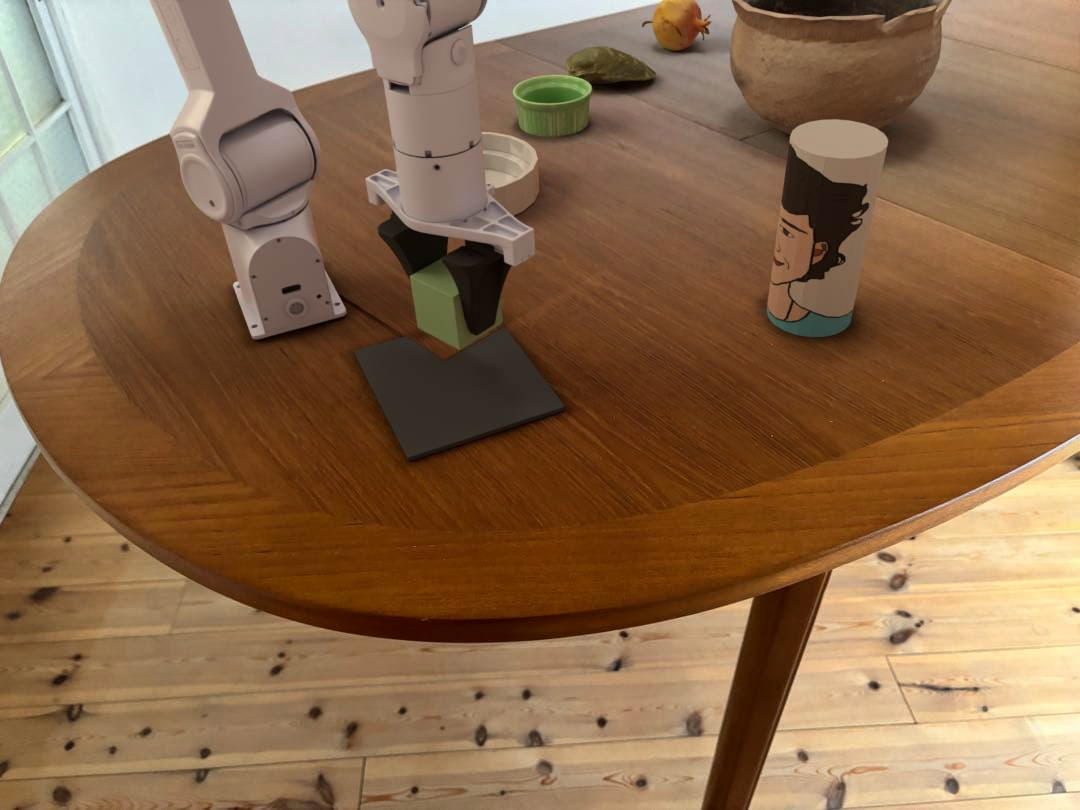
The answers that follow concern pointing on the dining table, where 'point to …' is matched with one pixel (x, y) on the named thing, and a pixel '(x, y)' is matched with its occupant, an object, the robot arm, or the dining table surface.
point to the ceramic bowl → (834, 58)
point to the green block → (442, 306)
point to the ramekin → (553, 105)
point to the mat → (455, 391)
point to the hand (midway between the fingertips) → (458, 316)
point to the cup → (824, 225)
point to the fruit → (678, 23)
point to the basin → (511, 170)
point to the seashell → (607, 66)
